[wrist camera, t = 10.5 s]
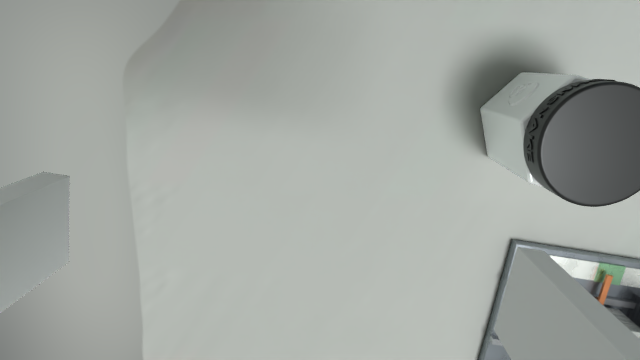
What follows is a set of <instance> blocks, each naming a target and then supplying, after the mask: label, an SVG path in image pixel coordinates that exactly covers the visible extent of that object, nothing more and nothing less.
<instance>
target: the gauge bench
mask: <svg viewBox="0 0 640 360" xmlns="http://www.w3.org/2000/svg"><path fill="white" fill-rule="evenodd" d="M517 247H523V248H529V249H536V250H542V251H544V252H545V253H547V254H548V255H549V256H550V257H551V258H552V259H553V260H554V261H555V262H556V263H557V264H559V265H560V266H561V267H562V268H563V269H564V270H565V271H566V272H567V273H568V274H569V275H571V276H572V277H573V278H574V279H575V280H576V281H577V282H578V283H579V284H580V285H581V286H582V287H584V288H585V289H586V290H587V291H588V292H589V293H590V294H591V295H592V296H593V297H594V298H596V299H598V296H599V293H600V290H601V287H602V284H603V281H604V278H605V275H606V274H610V275H612V276H613V279H612V282H611V285H610V287H609V290H608V293H607V296H606V299H605V302H604V305H603V306H604V307H610V308H616V309H619V310H620V311H621V312H622V313H623V314H624V315H626V316H627V317H628V318H629V319H630V320H631V321H632V322H633V323H635V324H636V325H637V326H638V327H639V328H640V259H634V258H628V257H621V256H615V255H609V254H602V253H596V252H590V251H583V250H577V249H570V248H564V247H558V246H551V245H545V244H539V243H532V242H526V241H520V240H513V239H512V242H511V245H510V249H509V252H508V256H507V260H506V263H505V267H504V270H503V274H502V277H501V281H500V284H499V288H498V292H497V295H496V299H495V302H494V306H493V309H492V313H491V317H490V320H489V324H488V327H487V331H486V334H485V338H484V342H483V345H482V349H481V352H480V356H479V359H478V360H511V358H510V357H509V355H508V353H507V352H506V350H505V348H504V346H503V345H502V343H501V341H500V340H499V338H498V336H497V334H496V333H495V331H494V327H495V324H496V320H497V317H498V313H499V309H500V306H501V302H502V299H503V295H504V292H505V288H506V285H507V281H508V278H509V274H510V271H511V267H512V264H513V260H514V257H515V253H516V250H517Z"/></svg>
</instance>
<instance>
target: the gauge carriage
mask: <svg viewBox="0 0 640 360" xmlns="http://www.w3.org/2000/svg"><path fill="white" fill-rule="evenodd" d="M612 279H613V276H612V275H610V274H606V275H605V278H604V281H603V284H602V287H601V290H600V293H599V296H598V299H597V300H598V301H599V302H600V303H601V304H602V305H604V302H605V299H606V296H607V293H608V290H609V287H610V285H611V282H612ZM605 308H606V309H608V310H609V311H610V312H611V313H612V314H613V315H614V316H615V317H616V318H617V319H618V320H619V321H621V322H622V323H623V324H624V325H625V326H626V327H627V328H628V329H629V330H630V331H631V332H633V333H634V334H635V335H636V336H637V337H638V338H639V339H640V328H639V327H638V326H637V325H636V324H635V323H633V322H632V321H631V320H630V319H629V318H628V317H627V316H626V315H624V314H623V313H622V312H621V311H620V310H619V309H616V308H610V307H605Z"/></svg>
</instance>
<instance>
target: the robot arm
mask: <svg viewBox="0 0 640 360" xmlns="http://www.w3.org/2000/svg"><path fill="white" fill-rule="evenodd" d="M68 262H69V176H66V175H60V174H53V173H47V172H42V173H39V174H36V175H34V176H31V177H28V178H26V179H23V180H20V181H17V182H15V183H12V184H9V185H7V186H4V187H1V188H0V313H1V312H2V311H4V310H5V309H7V308H8V307H9V306H11V305H12V304H13V303H15V302H16V301H17V300H19V299H20V298H21V297H23V296H24V295H25V294H27V293H28V292H29V291H31V290H32V289H34V288H35V287H36V286H38V285H39V284H40V283H42V282H43V281H44V280H46V279H47V278H48V277H50V276H51V275H52V274H54V273H55V272H56V271H58V270H59V269H61V268H62V267H63V266H64V265H66V264H67V263H68ZM494 331H495V333H496V334H497V336H498V338H499V340H500V341H501V343H502V345H503V346H504V348H505V350H506V352H507V353H508V355H509V357H510V358H511V360H640V339H639V338H638V337H637V336H636V335H635V334H634V333H633V332H631V331H630V330H629V329H628V328H627V327H626V326H625V325H624V324H623V323H622V322H621V321H619V320H618V319H617V318H616V317H615V316H614V315H613V314H612V313H611V312H610V311H609V310H608V309H606V308H605V307H604V306H603V305H602V304H601V303H600V302H599V301H598V300H597V299H596V298H594V297H593V296H592V295H591V294H590V293H589V292H588V291H587V290H586V289H585V288H584V287H582V286H581V285H580V284H579V283H578V282H577V281H576V280H575V279H574V278H573V277H572V276H571V275H569V274H568V273H567V272H566V271H565V270H564V269H563V268H562V267H561V266H560V265H559V264H557V263H556V262H555V261H554V260H553V259H552V258H551V257H550V256H549V255H548V254H547V253H545V252H544V251H542V250H536V249H529V248H523V247H517V250H516V253H515V257H514V260H513V264H512V267H511V271H510V274H509V278H508V281H507V285H506V288H505V292H504V295H503V299H502V302H501V306H500V309H499V313H498V317H497V320H496V324H495V327H494Z"/></svg>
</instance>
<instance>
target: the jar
mask: <svg viewBox="0 0 640 360" xmlns="http://www.w3.org/2000/svg"><path fill="white" fill-rule="evenodd" d="M480 112H481V118H482V124H483V130H484V137H485V143H486V149H487V155H488V157H489V158H490V159H492V160H493V161H495V162H497V163H498V164H500V165H501V166H503V167H505V168H506V169H508V170H509V171H511V172H512V173H514V174H516V175H517V176H519V177H520V178H522V179H524V180H525V181H527V182H528V183H530V184H534V185H537V186H541V187H544V188H546V189H548V190H549V191H551V192H553V193H554V194H556V195H558V196H559V197H561V198H562V199H564V200H566V201H568V202H571V203H574V204H577V205H582V206H591V207H597V206H606V205H611V204H614V203H617V202H620V201H623V200H625V199H627V198H629V197H630V196H632V195H634V194H635V193H637V192H638V191H640V88H639V87H637V86H635V85H632V84H629V83H624V82H617V81H615V80H606V79H592V80H591V79H588V78H584V77H581V76H578V75H568V74H548V73H529V72H521V73H520V74H518V75H517V76H516V77H515V78H514V79H513V80H512V81H511V82H509V83H508V84H507V85H506V86H505V87H504V88H503V89H501V90H500V91H499V92H498V93H497V94H496V95H495V96H493V97H492V98H491V99H490V100H489V101H488V102H487V103H486V104H484V105H483V106H482V107H481V108H480Z"/></svg>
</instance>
